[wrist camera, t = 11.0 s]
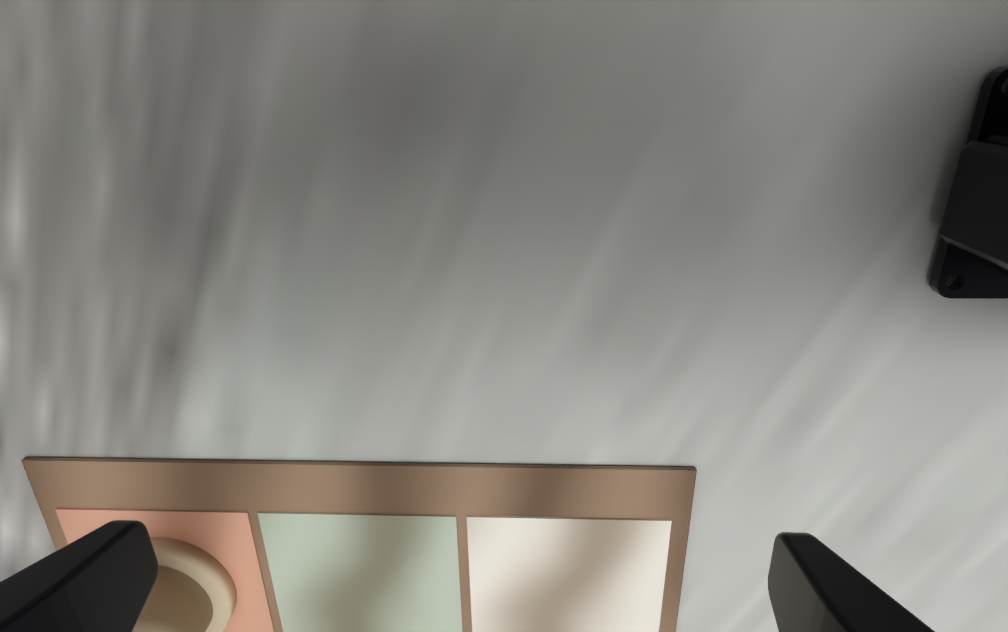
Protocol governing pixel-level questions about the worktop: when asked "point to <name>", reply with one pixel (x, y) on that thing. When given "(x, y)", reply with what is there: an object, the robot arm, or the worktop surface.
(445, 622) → the board
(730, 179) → the worktop surface
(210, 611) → the pawn
